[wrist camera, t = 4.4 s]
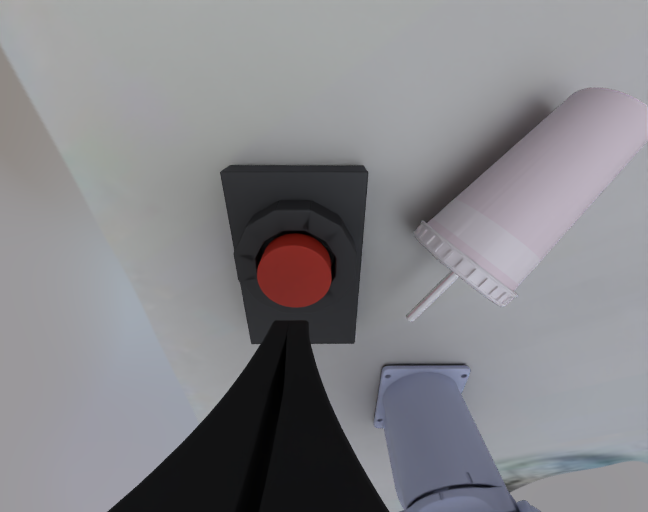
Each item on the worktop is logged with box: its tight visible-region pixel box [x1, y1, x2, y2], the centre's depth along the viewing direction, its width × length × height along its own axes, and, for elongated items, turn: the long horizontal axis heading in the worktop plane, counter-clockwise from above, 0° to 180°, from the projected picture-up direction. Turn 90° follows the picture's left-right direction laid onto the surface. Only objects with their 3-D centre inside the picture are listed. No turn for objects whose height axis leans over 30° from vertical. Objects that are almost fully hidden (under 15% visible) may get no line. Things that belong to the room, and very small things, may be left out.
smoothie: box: [406, 88, 648, 322], centre depth 15 cm, size 6×6×14 cm
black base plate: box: [220, 165, 368, 344], centre depth 18 cm, size 13×8×4 cm, turn 0°
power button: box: [257, 233, 332, 307], centre depth 15 cm, size 4×4×2 cm
